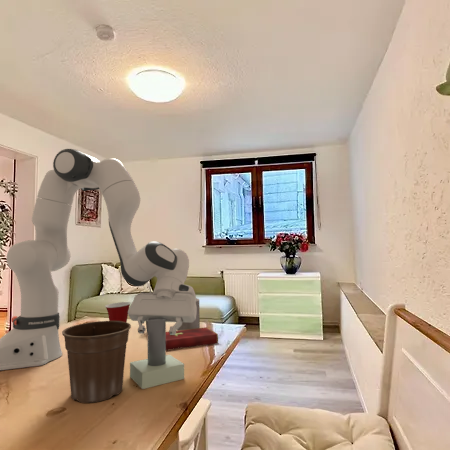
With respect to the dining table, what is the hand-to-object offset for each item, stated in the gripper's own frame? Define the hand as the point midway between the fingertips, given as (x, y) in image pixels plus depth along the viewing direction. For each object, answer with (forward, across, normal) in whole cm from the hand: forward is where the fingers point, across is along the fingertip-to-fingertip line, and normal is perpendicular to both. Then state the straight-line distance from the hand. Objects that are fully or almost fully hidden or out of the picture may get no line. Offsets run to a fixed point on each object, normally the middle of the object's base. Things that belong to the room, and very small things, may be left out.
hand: (156, 333), depth 93 cm
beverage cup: (-26, -21, +44) cm, 55 cm away
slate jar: (+5, 0, +6) cm, 8 cm away
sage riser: (+8, 0, +9) cm, 12 cm away
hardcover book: (-16, -1, +34) cm, 38 cm away
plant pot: (+16, -12, +1) cm, 20 cm away
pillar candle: (-28, -5, +46) cm, 54 cm away
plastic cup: (-25, -36, +43) cm, 62 cm away
